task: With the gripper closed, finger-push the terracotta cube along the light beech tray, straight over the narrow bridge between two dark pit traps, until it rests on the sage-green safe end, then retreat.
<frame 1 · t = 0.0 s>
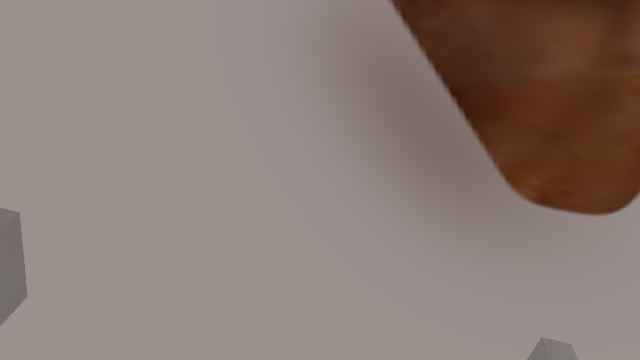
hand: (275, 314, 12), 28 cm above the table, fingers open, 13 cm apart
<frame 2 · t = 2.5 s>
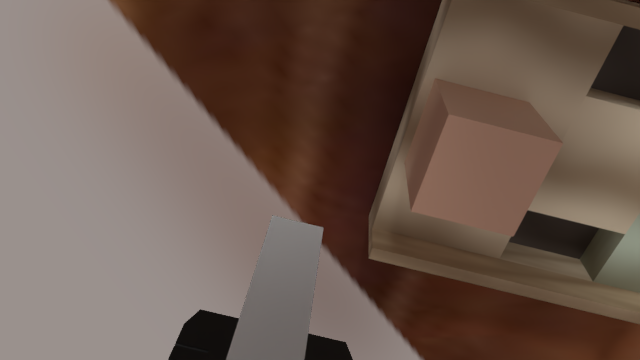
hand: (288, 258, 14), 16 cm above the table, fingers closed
terracotta block: (464, 134, 26), point 2 cm above the table, touching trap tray
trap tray: (572, 145, 28), on the table
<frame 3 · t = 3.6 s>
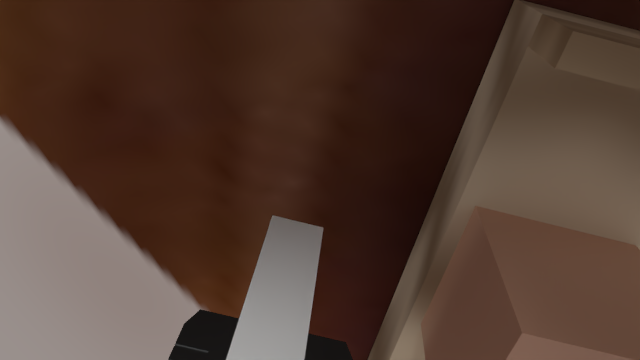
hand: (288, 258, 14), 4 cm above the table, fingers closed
terracotta block: (520, 287, 16), point 2 cm above the table, touching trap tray
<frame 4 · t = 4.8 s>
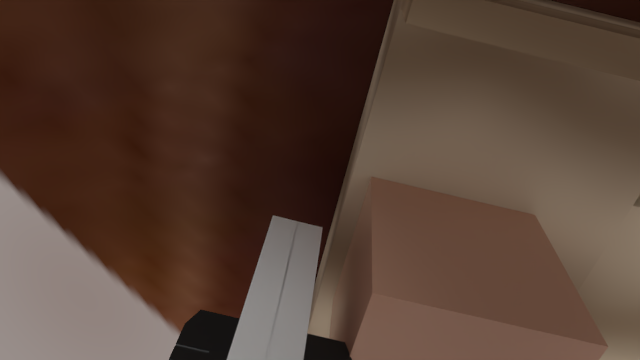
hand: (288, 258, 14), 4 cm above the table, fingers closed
terracotta block: (426, 260, 15), point 3 cm above the table, touching gripper
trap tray: (602, 260, 18), on the table
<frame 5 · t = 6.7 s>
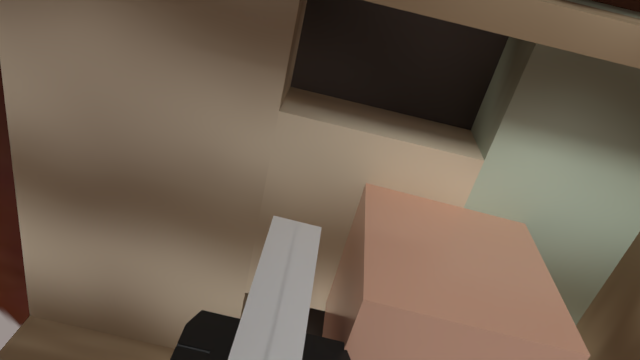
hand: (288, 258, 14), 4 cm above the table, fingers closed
terracotta block: (418, 265, 16), point 3 cm above the table, touching gripper, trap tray
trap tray: (327, 187, 18), on the table
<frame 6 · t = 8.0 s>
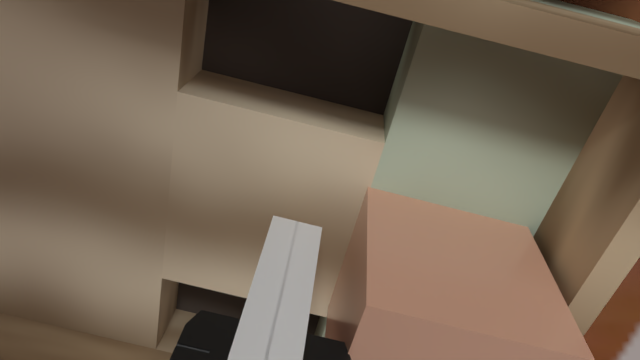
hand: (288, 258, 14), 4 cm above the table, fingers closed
terracotta block: (420, 269, 16), point 2 cm above the table, touching gripper, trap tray
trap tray: (248, 173, 17), on the table
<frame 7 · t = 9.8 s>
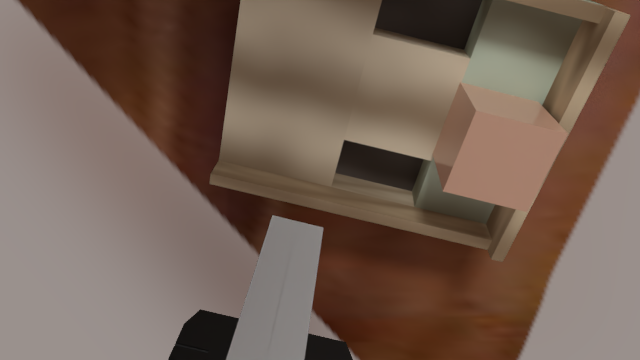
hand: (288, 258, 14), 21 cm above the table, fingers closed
terracotta block: (483, 128, 31), point 2 cm above the table, touching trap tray
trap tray: (387, 85, 32), on the table
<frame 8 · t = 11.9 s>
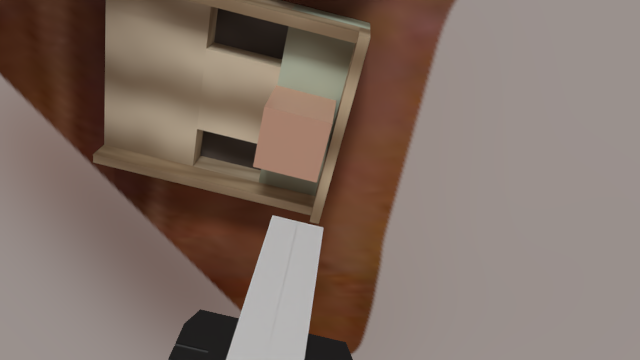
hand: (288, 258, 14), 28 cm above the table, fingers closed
terracotta block: (299, 120, 40), point 2 cm above the table, touching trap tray
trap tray: (232, 87, 42), on the table
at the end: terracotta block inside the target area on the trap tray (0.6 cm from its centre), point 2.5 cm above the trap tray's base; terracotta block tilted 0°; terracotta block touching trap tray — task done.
